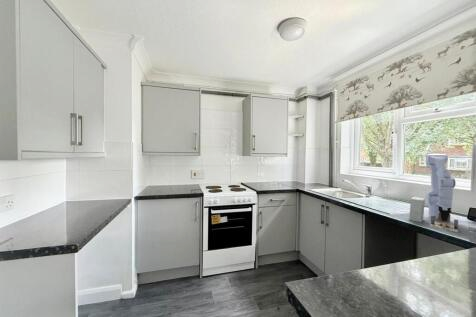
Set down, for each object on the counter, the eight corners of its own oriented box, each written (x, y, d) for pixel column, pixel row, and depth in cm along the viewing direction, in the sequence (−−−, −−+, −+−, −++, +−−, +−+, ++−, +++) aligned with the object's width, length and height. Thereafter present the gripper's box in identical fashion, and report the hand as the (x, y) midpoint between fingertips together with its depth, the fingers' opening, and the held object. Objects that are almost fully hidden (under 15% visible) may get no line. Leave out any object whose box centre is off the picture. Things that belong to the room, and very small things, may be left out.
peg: (438, 226, 119) (439, 221, 119) (449, 228, 116) (449, 223, 116) (438, 228, 116) (438, 223, 116) (449, 230, 113) (449, 225, 113)
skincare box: (411, 218, 136) (413, 196, 135) (423, 220, 131) (425, 198, 131) (408, 220, 131) (410, 198, 130) (421, 223, 126) (422, 200, 125)
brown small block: (438, 219, 127) (438, 211, 127) (449, 221, 123) (450, 213, 123) (438, 220, 124) (438, 213, 123) (450, 223, 120) (450, 215, 120)
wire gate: (431, 222, 125) (431, 215, 125) (457, 228, 117) (458, 219, 117) (430, 224, 123) (431, 216, 123) (457, 229, 115) (458, 221, 115)
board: (431, 221, 130) (431, 220, 130) (457, 226, 122) (457, 225, 122) (430, 227, 119) (430, 226, 119) (458, 233, 111) (458, 232, 111)
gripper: (436, 194, 131) (435, 215, 131) (435, 198, 121) (434, 220, 121) (452, 196, 126) (451, 218, 126) (453, 200, 116) (451, 223, 116)
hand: (444, 219), depth 123 cm, fingers closed on brown small block, 5 cm apart
